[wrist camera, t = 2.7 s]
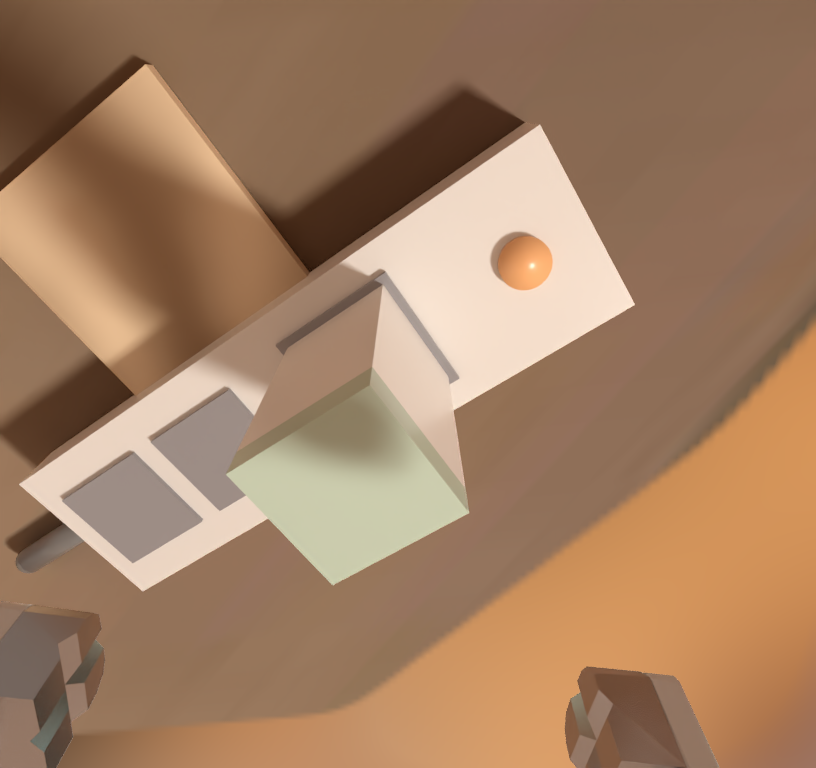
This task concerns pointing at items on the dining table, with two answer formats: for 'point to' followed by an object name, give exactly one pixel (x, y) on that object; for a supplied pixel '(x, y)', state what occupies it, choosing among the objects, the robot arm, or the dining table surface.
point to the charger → (355, 441)
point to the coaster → (142, 234)
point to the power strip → (309, 309)
